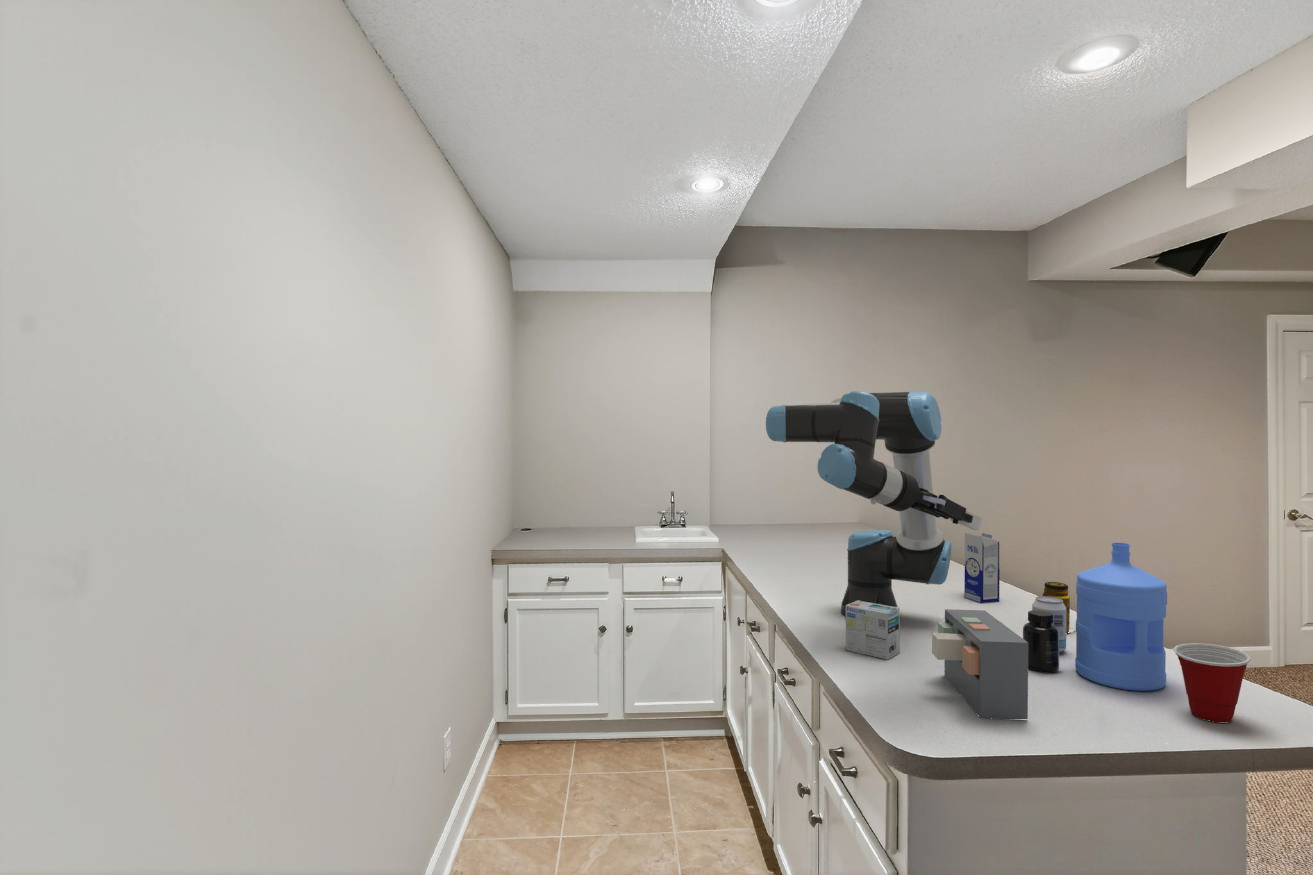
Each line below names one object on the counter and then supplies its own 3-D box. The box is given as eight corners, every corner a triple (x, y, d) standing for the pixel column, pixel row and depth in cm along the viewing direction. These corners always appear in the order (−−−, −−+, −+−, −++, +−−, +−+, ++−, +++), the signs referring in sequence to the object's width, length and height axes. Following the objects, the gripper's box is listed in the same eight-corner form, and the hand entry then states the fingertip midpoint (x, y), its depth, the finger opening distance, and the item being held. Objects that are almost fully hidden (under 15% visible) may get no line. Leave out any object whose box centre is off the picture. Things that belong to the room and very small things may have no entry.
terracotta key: (969, 674, 123) (969, 652, 123) (962, 667, 127) (962, 645, 127) (1009, 676, 122) (1010, 654, 122) (1001, 668, 126) (1001, 647, 126)
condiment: (1076, 631, 173) (1077, 584, 173) (1059, 637, 168) (1060, 589, 168) (1047, 624, 179) (1047, 579, 179) (1030, 629, 174) (1030, 583, 174)
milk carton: (963, 597, 206) (964, 532, 206) (981, 595, 208) (982, 531, 208) (981, 603, 199) (982, 535, 199) (999, 601, 201) (1000, 534, 201)
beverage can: (1064, 647, 160) (1064, 597, 160) (1067, 657, 154) (1068, 604, 154) (1030, 643, 163) (1031, 594, 163) (1033, 652, 157) (1033, 601, 157)
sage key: (943, 647, 138) (943, 627, 138) (937, 641, 142) (938, 622, 142) (979, 648, 137) (979, 628, 137) (972, 642, 141) (973, 623, 141)
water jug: (1059, 664, 149) (1061, 537, 149) (1132, 664, 149) (1134, 537, 148) (1104, 692, 134) (1106, 550, 133) (1185, 693, 133) (1187, 551, 133)
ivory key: (937, 659, 131) (937, 638, 131) (931, 652, 135) (932, 632, 135) (975, 660, 130) (975, 640, 130) (968, 654, 134) (968, 634, 134)
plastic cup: (1157, 705, 127) (1158, 642, 127) (1210, 703, 128) (1211, 640, 128) (1209, 731, 117) (1210, 662, 116) (1266, 729, 118) (1268, 660, 117)
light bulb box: (900, 653, 157) (901, 606, 157) (888, 660, 152) (888, 613, 152) (857, 643, 164) (857, 598, 164) (844, 650, 159) (844, 604, 159)
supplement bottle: (1055, 664, 149) (1055, 610, 149) (1062, 675, 143) (1063, 618, 143) (1020, 660, 152) (1020, 607, 151) (1025, 671, 145) (1026, 615, 145)
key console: (980, 718, 122) (981, 639, 122) (944, 675, 143) (944, 607, 143) (1027, 720, 121) (1028, 641, 121) (984, 676, 142) (984, 608, 142)
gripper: (863, 502, 137) (948, 537, 145) (908, 508, 125) (999, 545, 133) (873, 468, 138) (958, 503, 146) (919, 470, 126) (1008, 509, 134)
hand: (977, 523), depth 140 cm, fingers closed
